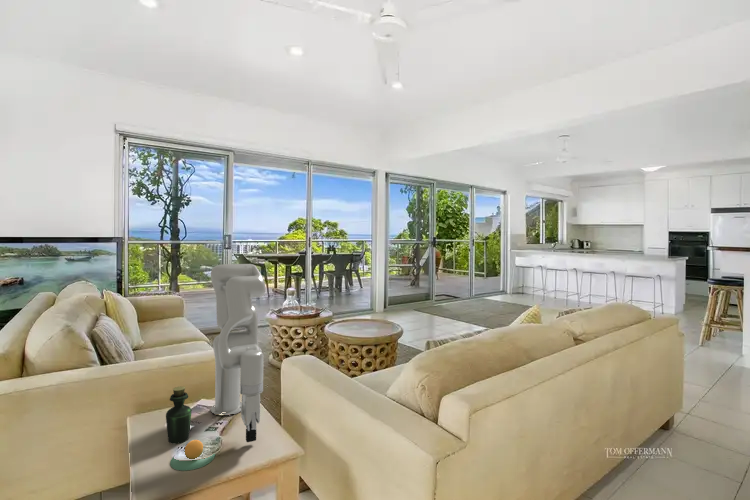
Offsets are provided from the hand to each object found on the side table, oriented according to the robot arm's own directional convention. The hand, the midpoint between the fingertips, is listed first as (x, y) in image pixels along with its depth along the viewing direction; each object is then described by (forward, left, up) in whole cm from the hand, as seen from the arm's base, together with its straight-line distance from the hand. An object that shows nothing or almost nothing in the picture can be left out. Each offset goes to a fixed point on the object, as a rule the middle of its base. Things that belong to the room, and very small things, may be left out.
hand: (251, 440), depth 134 cm
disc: (+1, -18, -2) cm, 18 cm away
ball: (+1, -18, +1) cm, 18 cm away
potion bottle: (-14, -22, -2) cm, 26 cm away
